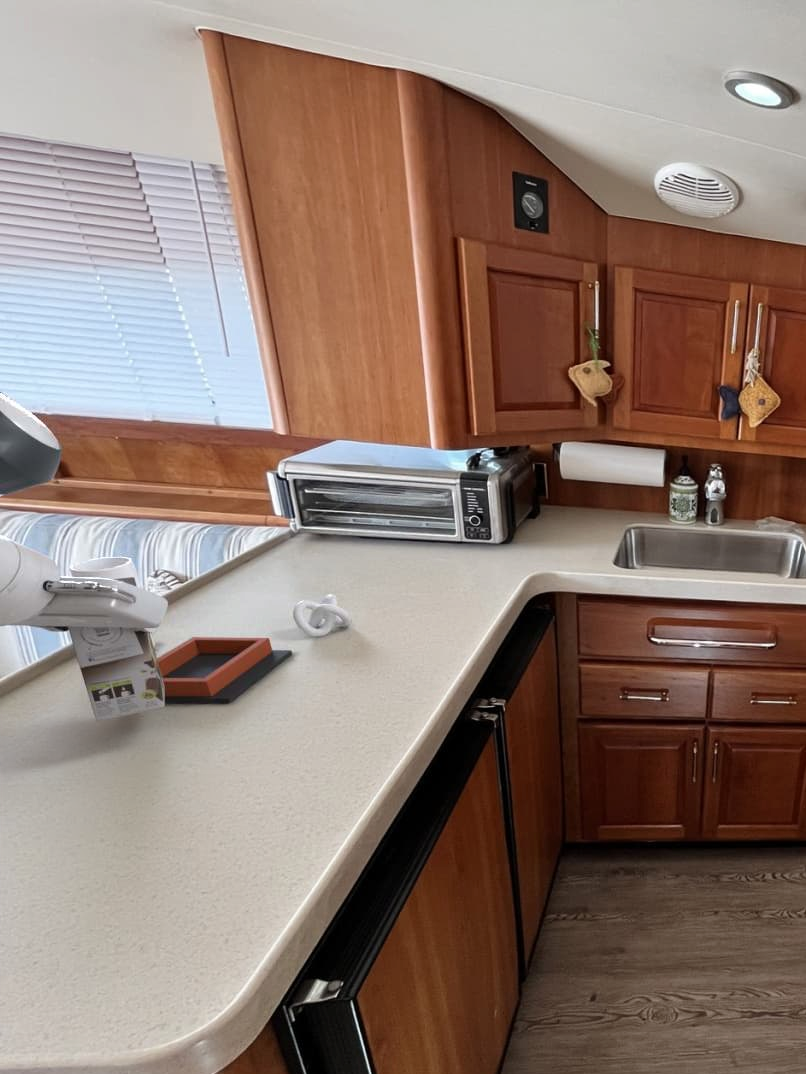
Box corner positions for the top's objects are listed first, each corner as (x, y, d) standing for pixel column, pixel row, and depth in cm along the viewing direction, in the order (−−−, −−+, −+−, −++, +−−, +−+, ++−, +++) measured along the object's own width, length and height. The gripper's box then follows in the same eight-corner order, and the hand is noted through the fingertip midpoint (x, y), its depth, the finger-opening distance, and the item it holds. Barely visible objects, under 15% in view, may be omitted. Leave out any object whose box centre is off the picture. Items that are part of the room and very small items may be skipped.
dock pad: (102, 703, 89) (94, 683, 88) (183, 653, 103) (177, 635, 101) (230, 703, 91) (223, 683, 90) (292, 654, 105) (288, 636, 104)
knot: (364, 621, 118) (358, 592, 115) (338, 640, 110) (331, 610, 108) (321, 619, 117) (314, 590, 115) (292, 638, 110) (284, 608, 107)
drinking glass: (120, 664, 98) (85, 574, 92) (92, 655, 100) (57, 566, 94) (172, 646, 104) (143, 561, 98) (145, 638, 106) (115, 553, 100)
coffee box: (167, 707, 82) (133, 587, 78) (94, 722, 78) (55, 597, 74) (167, 687, 89) (136, 575, 84) (99, 700, 84) (63, 583, 80)
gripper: (120, 559, 69) (209, 605, 82) (-105, 551, 66) (24, 601, 79) (97, 613, 67) (193, 652, 80) (-136, 607, 64) (1, 649, 76)
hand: (107, 626), depth 79 cm, fingers closed on coffee box, 8 cm apart
